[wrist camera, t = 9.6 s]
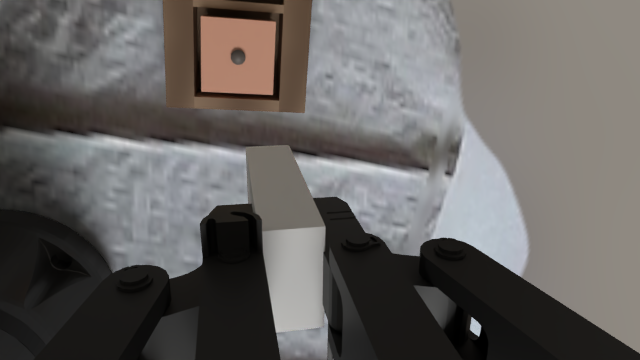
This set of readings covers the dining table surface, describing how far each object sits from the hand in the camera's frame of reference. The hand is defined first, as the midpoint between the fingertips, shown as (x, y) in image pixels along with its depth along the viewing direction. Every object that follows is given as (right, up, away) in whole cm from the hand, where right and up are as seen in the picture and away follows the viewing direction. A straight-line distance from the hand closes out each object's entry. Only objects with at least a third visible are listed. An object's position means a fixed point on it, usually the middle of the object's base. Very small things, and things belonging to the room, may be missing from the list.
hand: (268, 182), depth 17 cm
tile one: (-4, +9, +15) cm, 18 cm away
